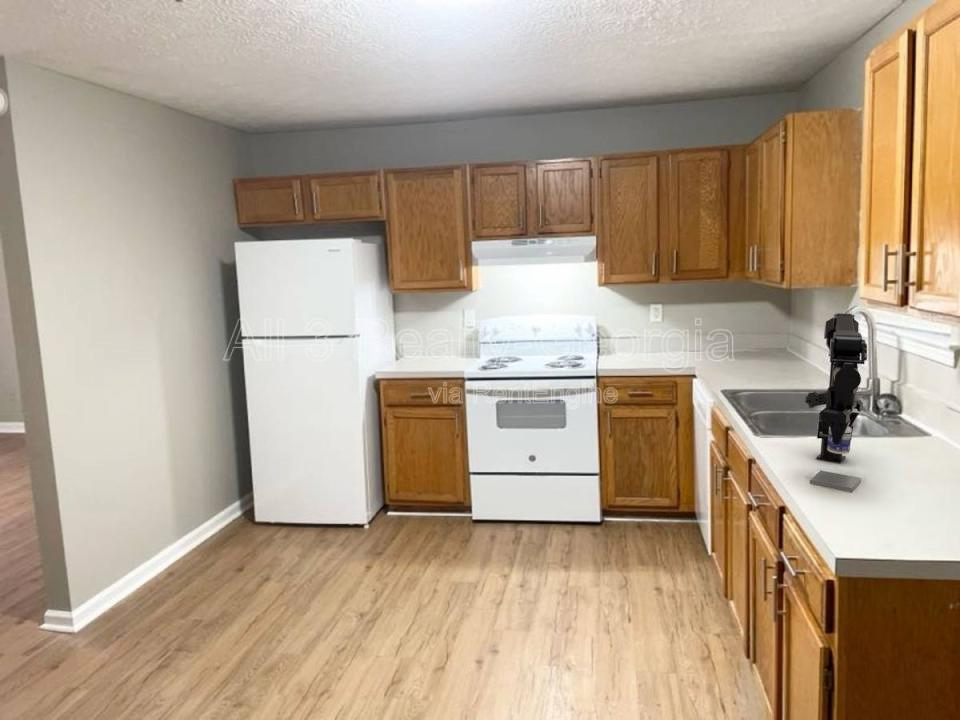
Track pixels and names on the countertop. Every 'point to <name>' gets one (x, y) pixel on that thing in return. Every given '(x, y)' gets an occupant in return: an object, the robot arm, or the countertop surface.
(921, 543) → the countertop surface
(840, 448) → the pill bottle
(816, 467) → the countertop surface
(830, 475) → the ceramic coaster
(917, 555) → the countertop surface
